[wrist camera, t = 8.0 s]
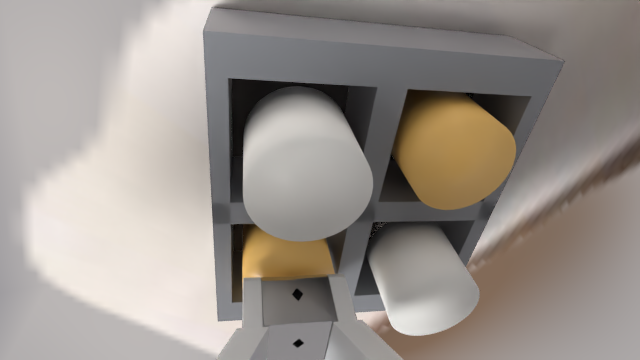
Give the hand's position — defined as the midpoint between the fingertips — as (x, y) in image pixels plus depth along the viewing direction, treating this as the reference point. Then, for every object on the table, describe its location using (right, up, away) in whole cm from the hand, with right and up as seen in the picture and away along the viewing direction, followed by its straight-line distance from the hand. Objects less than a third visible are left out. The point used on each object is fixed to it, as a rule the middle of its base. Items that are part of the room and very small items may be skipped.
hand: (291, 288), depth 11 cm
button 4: (+4, +5, +1) cm, 7 cm away
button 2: (+4, +1, +3) cm, 5 cm away
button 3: (0, +4, -1) cm, 5 cm away
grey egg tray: (+2, +4, +2) cm, 5 cm away
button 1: (-1, +2, +3) cm, 3 cm away
